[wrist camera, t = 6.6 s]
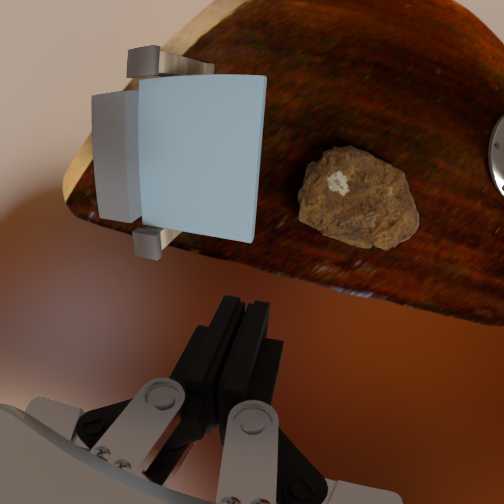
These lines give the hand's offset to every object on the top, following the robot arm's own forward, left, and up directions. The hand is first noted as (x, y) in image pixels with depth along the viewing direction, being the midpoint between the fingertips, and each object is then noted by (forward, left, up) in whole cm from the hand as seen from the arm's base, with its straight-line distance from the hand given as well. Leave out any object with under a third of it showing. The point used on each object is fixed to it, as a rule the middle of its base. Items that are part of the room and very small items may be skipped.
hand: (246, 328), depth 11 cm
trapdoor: (+11, -3, -17) cm, 20 cm away
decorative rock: (-7, +2, -26) cm, 27 cm away
